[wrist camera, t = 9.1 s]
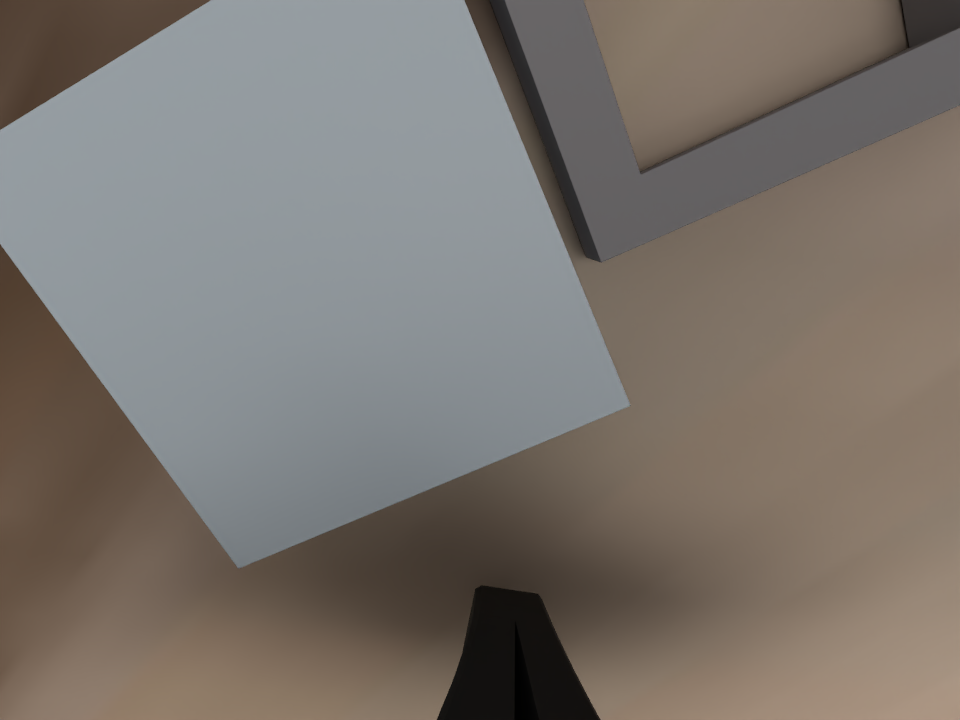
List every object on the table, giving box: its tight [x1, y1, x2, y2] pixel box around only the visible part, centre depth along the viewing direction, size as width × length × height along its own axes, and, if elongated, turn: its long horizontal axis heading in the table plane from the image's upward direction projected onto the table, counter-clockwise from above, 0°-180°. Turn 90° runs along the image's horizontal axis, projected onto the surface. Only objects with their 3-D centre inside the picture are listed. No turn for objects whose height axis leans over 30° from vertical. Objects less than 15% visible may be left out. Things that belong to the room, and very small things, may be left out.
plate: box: [0, 0, 631, 569], centre depth 8 cm, size 8×8×2 cm
